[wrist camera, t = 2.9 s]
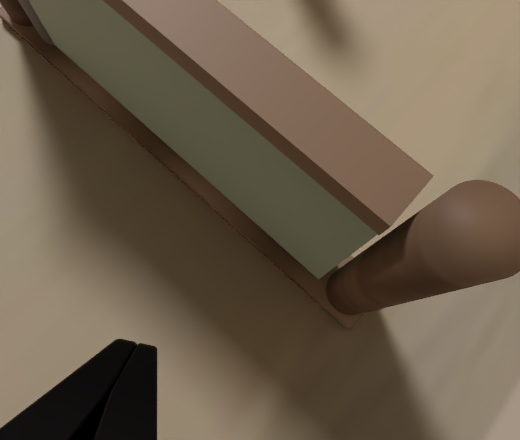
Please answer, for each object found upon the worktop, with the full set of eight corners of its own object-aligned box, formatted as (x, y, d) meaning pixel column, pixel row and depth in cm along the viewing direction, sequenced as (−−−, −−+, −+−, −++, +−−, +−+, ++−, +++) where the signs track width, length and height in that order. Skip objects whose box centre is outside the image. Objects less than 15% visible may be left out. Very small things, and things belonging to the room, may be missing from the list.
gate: (32, 30, 21) (-115, -200, 12) (59, 9, 21) (-65, -228, 12) (315, 282, 19) (390, 226, 10) (339, 254, 19) (433, 175, 10)
